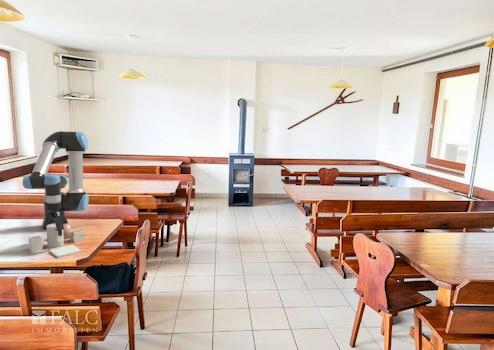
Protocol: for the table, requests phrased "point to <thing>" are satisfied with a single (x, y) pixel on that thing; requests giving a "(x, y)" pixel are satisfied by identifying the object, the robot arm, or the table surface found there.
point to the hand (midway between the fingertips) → (55, 238)
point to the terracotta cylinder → (66, 231)
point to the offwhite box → (35, 244)
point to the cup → (53, 237)
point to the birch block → (77, 235)
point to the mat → (65, 251)
